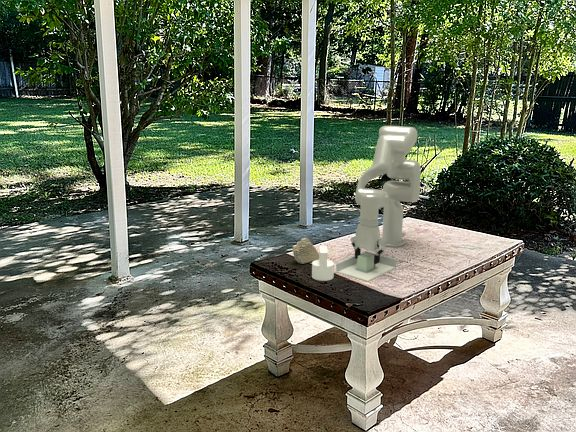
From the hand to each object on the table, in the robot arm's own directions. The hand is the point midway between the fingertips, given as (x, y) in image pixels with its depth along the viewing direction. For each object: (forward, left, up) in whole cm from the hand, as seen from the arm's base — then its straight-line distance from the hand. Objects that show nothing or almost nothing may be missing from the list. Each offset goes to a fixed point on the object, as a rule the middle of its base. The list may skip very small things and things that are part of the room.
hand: (366, 260), depth 232 cm
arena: (0, 0, -4) cm, 4 cm away
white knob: (+19, -9, -5) cm, 22 cm away
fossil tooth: (+9, -26, -5) cm, 28 cm away
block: (0, 0, -4) cm, 4 cm away
